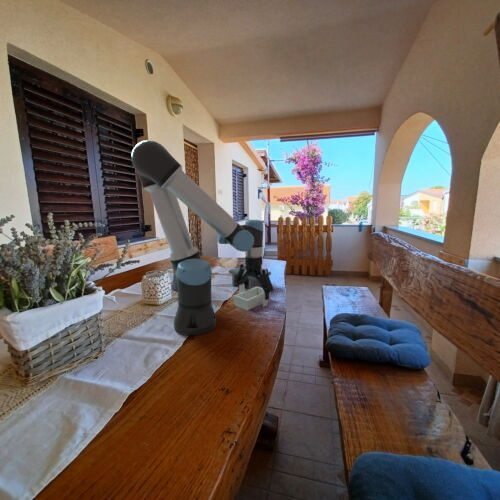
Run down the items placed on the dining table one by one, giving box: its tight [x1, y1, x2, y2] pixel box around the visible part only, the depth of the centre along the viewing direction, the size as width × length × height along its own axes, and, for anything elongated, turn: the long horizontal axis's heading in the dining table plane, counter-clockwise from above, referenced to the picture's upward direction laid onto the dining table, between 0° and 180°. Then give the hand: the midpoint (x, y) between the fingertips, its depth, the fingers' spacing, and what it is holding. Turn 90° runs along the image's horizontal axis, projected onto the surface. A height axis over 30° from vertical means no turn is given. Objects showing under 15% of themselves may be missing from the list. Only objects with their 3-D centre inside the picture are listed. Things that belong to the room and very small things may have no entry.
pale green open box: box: [233, 287, 271, 311], centre depth 113 cm, size 16×8×4 cm, turn 139°
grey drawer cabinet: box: [228, 266, 272, 290], centre depth 134 cm, size 13×18×8 cm
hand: (252, 301), depth 114 cm, fingers open, 13 cm apart
